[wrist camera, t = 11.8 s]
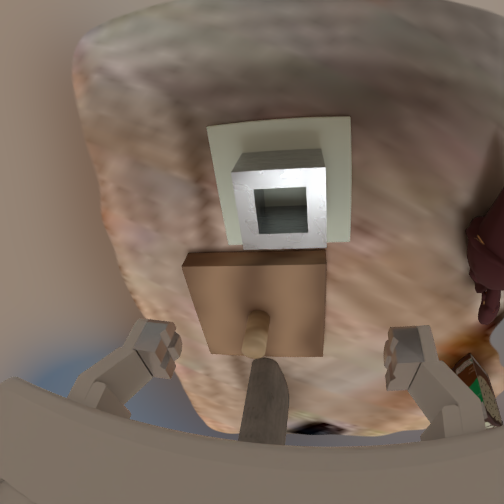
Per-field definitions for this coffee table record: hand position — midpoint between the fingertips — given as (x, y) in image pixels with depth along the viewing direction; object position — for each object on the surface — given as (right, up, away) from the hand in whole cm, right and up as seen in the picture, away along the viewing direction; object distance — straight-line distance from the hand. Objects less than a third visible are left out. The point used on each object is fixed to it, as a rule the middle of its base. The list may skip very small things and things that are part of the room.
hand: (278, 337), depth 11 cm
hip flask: (+2, -16, +29) cm, 33 cm away
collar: (+1, +8, +12) cm, 14 cm away
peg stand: (0, -2, +19) cm, 19 cm away
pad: (+1, +8, +12) cm, 15 cm away
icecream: (+20, +6, +11) cm, 23 cm away
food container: (+29, -14, +23) cm, 39 cm away
